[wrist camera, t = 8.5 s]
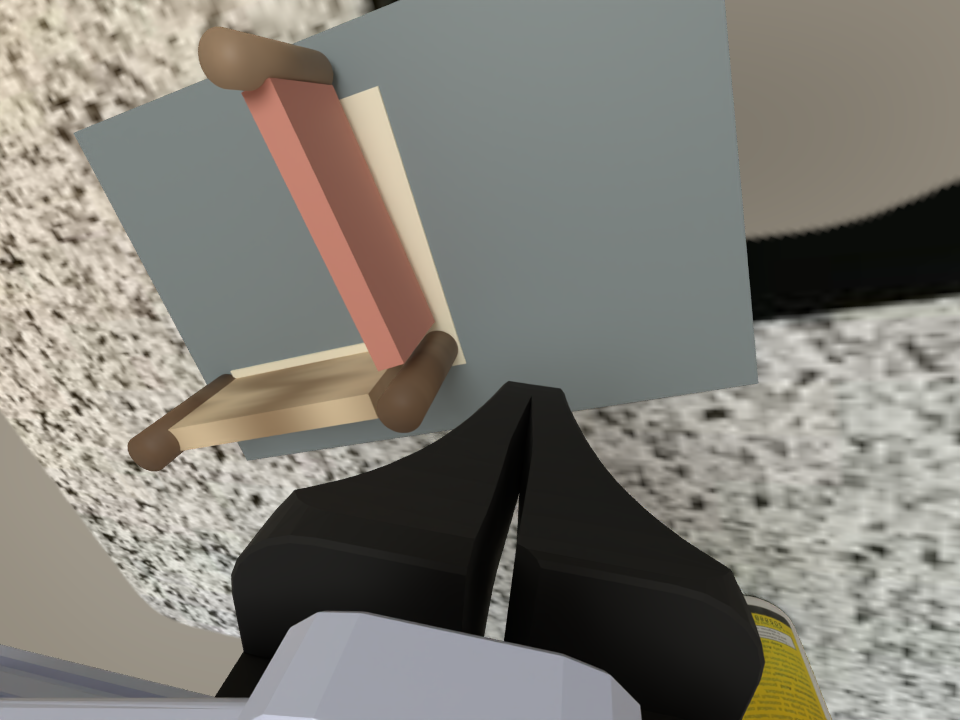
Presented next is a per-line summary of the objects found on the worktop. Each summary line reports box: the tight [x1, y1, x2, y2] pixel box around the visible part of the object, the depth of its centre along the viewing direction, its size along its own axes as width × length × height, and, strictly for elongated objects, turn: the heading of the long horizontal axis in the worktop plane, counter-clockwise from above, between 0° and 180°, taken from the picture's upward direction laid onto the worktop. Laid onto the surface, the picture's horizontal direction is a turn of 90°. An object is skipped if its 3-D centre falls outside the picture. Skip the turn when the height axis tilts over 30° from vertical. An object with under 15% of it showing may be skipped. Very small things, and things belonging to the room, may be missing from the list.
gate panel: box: [198, 27, 435, 371], centre depth 17 cm, size 10×1×5 cm, turn 22°
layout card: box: [74, 0, 758, 461], centre depth 21 cm, size 24×16×1 cm, turn 106°
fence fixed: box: [128, 331, 458, 471], centre depth 21 cm, size 12×2×6 cm, turn 106°
